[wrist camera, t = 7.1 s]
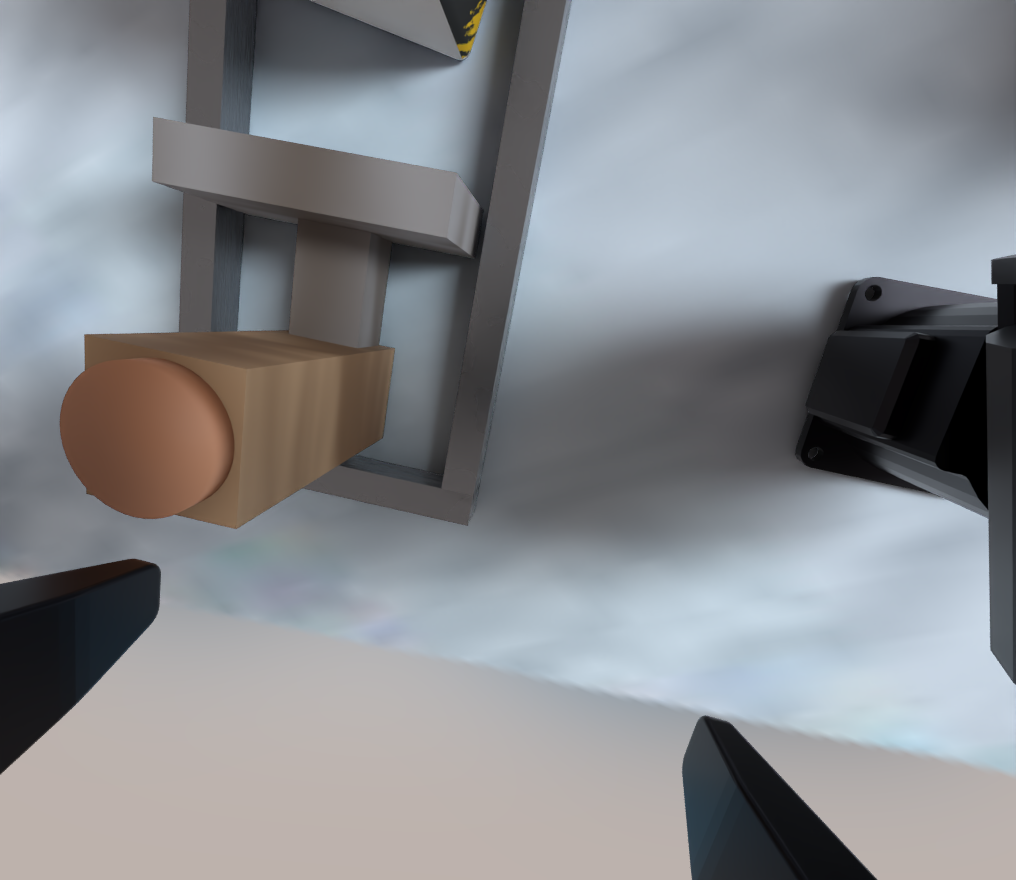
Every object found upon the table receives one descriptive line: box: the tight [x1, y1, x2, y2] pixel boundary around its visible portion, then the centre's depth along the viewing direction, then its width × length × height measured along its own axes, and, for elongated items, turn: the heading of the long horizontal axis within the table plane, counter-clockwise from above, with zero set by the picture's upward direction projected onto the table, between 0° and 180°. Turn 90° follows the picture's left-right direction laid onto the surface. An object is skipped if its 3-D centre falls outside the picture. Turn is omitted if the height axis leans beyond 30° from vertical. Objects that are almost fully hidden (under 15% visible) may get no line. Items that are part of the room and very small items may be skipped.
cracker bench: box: [179, 0, 572, 526], centre depth 14 cm, size 12×26×7 cm, turn 169°
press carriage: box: [60, 117, 484, 529], centre depth 14 cm, size 8×9×10 cm
